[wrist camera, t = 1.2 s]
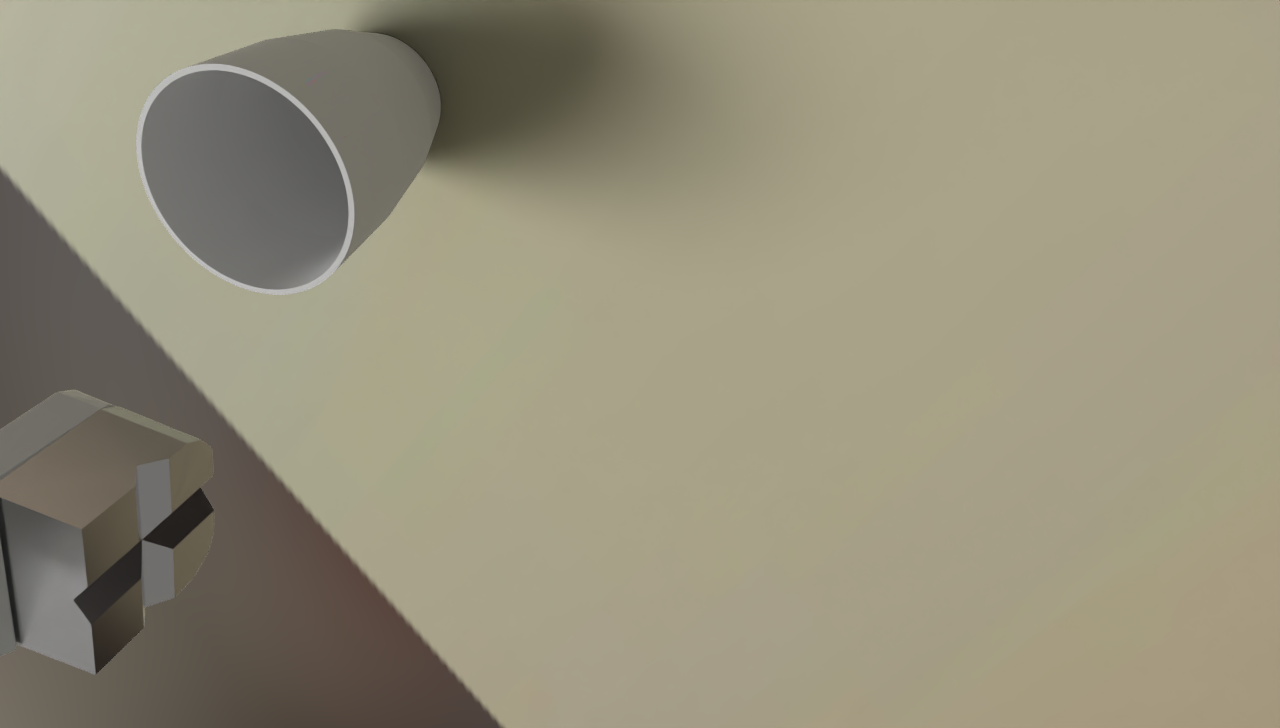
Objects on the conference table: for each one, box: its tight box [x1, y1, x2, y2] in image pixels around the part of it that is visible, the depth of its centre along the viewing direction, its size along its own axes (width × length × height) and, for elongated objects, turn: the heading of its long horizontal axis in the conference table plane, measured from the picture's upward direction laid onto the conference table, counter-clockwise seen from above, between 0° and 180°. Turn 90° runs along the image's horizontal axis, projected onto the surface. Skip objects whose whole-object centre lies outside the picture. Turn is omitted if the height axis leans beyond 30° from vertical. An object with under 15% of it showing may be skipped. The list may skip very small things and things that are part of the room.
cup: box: [136, 29, 441, 295], centre depth 42 cm, size 8×8×10 cm
